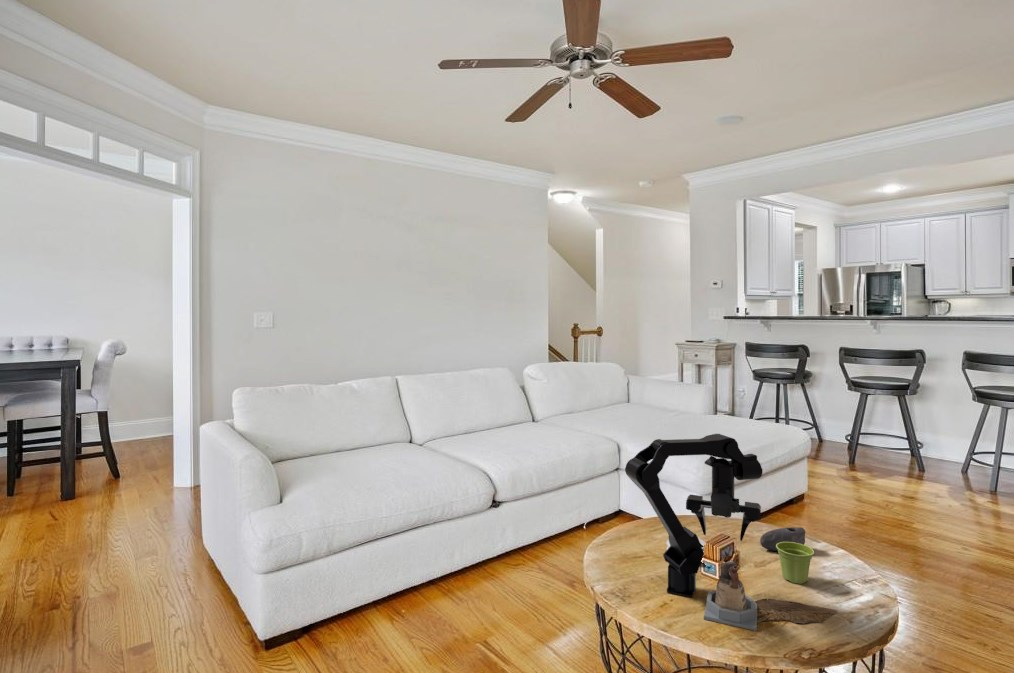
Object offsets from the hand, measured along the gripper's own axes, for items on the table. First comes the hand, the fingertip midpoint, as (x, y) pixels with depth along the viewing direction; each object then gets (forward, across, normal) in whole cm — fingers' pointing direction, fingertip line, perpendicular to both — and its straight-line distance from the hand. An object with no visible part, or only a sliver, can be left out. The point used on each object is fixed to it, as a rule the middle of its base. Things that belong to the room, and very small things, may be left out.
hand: (722, 537), depth 145 cm
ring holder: (+13, +3, -14) cm, 20 cm away
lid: (+14, -11, +15) cm, 23 cm away
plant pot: (+13, +18, +12) cm, 25 cm away
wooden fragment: (+14, +15, -8) cm, 22 cm away
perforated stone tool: (+13, +16, +32) cm, 38 cm away
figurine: (+12, +3, -14) cm, 19 cm away
